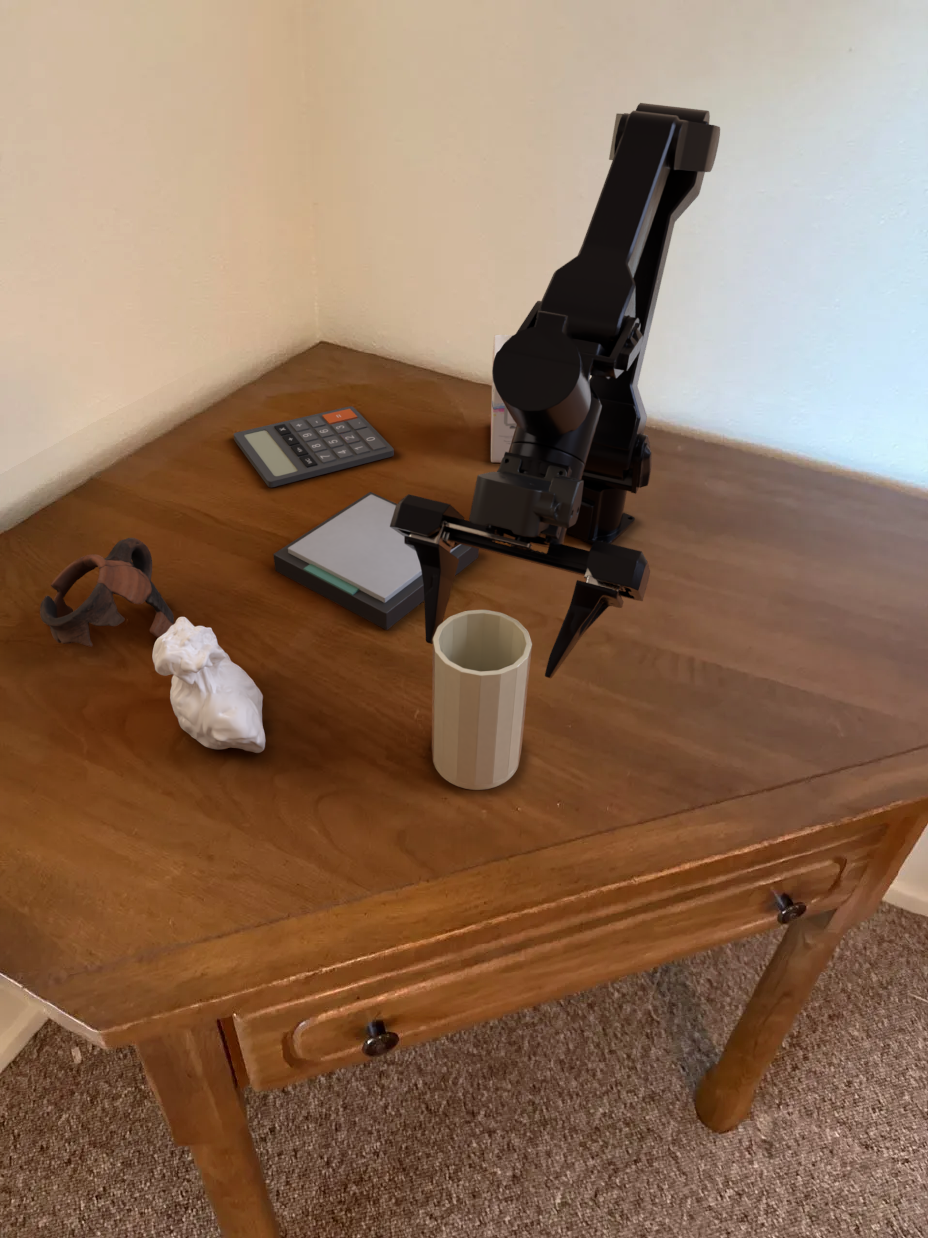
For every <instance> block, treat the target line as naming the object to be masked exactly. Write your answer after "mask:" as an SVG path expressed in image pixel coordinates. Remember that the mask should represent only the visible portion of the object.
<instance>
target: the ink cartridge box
mask: <svg viewBox="0 0 928 1238" xmlns="http://www.w3.org/2000/svg"><path fill="white" fill-rule="evenodd" d="M513 335H514V334H494V337H493V346H492V347H493V348H492V363H493V362H494V359H495V356H496V353H497V352H498V351H499V350H500V349H501V347H502V346H503V344H504V343H505V342H506V341H507V340H508V339H509V338H511V337H512V336H513ZM491 368H492V369H493V366H492V367H491ZM490 407H491V408H490V409H491V411H490V463H500V464H501V461H502V458H503V457H504V454H505V452H509V449H510V446H511V442H512V439H513V435H514V432H515V429H516V425H517V424H516V423H515V421H514V420H513V418H512V417H511V415H510V413H509V411H508V409H507V408H506V406H505V404H504V402H503V401H502V399H501V397H500V395H499V394H498V392H497V390H496V387H495V384H494V382H493V374H492V373H491V405H490Z"/></svg>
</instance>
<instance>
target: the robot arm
mask: <svg viewBox="0 0 928 1238" xmlns="http://www.w3.org/2000/svg"><path fill="white" fill-rule="evenodd" d="M710 117H711V115H710V111H709V110H704V109H697V108H687V107H679V106H672V105H663V104H653V103H646V102H640V103H638V104H637V106H636V108H635V110H632V111H631V112H629V113H627V112H623V113H615V119H614V126H613V132H612V138H611V145H610V149H609V157H608V160H609V161H611V164H610V166H609V169H608V172H607V175H606V178H605V179H604V183H603V186H602V188H601V191H600V194H599V197H598V199H597V202H596V206H595V208H594V212H593V214H592V216H591V220H590V222H589V225H588V228H587V230H586V232H585V236H584V238H583V240H582V241H583V242H582V244H581V246H580V249H579V252H578V253H577V255H576V256H575V257H573V258H572V259H570V260H569V261H568V262H566V263H564V264H563V265H561V266H560V267H558V268H557V269H556V270H555V271H554V272H553V274H552V276H551V278H550V280H549V283H548V285H547V287H546V290H545V292H544V293H543V296H542V299H541V300H537V301H536V302H535V304H533V306H532V307H531V309H530V311H529V312H528V314H527V316H526V317H525V319H524V320H523V321H522V323H521V325H520V326H519V328H518V329H517V330H516V333H514V334H512V335H513V336H512V337H511V338H509V339H508V340H507V341H506V342H505V343H504V344H503V346H502V347H501V349H500V350H499V351H498V352H497V353H496V356H495V359H494V362H493V361H492V367H493V369H492V371H491V375H492V374H493V382H494V384H495V387H496V390H497V392H498V394H499V395H500V397H501V399H502V401H503V402H504V404H505V406H506V408H507V409H508V411H509V413H510V415H511V417H512V418H513V420H514V421H515V423H516V424H517V425H516V429H515V432H514V435H513V439H512V442H511V446H510V449H509V452H505V454H504V457H503V458H502V461H501V463H500V465H499V468H498V469H497V470H496V471H490V472H484V473H480V474H477V476H476V481H475V486H474V492H473V496H472V503H471V508H470V511H469V512H470V513H469V517H468V520H467V519H465V516H464V515H462V514H461V513H460V512H459V511H458V510H457V509H456V508H455V507H454V506H453V505H451V504H450V503H447V502H442V501H439V500H435V499H431V498H427V497H421V496H417V495H414V494H409V493H408V494H407V495H406V496H404V497H403V498H401V499H400V500H399V501H398V502H397V503H396V504H397V505H396V507H395V510H394V514H393V517H392V520H391V524H390V527H391V528H392V529H394V530H395V531H397V532H398V533H400V534H401V535H402V536H404V544H406V545H407V546H409V547H410V548H412V549H413V550H415V551H416V553H417V556H418V559H419V562H420V566H421V572H422V578H423V585H424V601H423V603H424V604H423V605H424V624H425V625H424V628H425V633H424V634H425V642H426V643H427V644H430V645H433V637H434V635H435V632H436V630H437V627H438V626H439V625H440V624H441V623H443V622H444V619H445V615H446V610H447V607H448V603H449V600H450V596H451V592H452V588H453V584H454V581H455V577H456V576H455V574H456V570H457V566H458V562H459V559H458V558H456V557H455V556H454V555H453V554H451V553H450V552H451V550H452V549H453V548H455V547H457V546H458V545H460V544H462V545H466V546H470V547H474V548H477V549H479V550H481V551H485V552H489V553H494V554H497V555H501V556H505V557H509V558H512V559H517V560H520V561H523V562H524V561H525V562H529V563H533V564H535V565H539V566H543V567H548V568H552V569H555V570H559V571H564V572H567V573H571V574H574V575H578V576H579V575H580V576H583V578H584V580H585V581H583V580H578V579H577V580H576V582H575V586H574V589H573V593H572V597H571V599H570V600H571V601H570V604H569V607H568V609H567V611H566V614H565V616H564V619H563V622H562V624H561V627H560V629H559V631H558V634H557V637H556V639H555V642H554V644H553V646H552V649H551V652H550V654H549V657H548V660H547V664H546V667H545V672H544V677H545V678H548V679H552V678H553V677H554V676H555V674H556V673H557V671H558V670H559V669H560V668H561V666H562V664H564V662H565V660H566V659H567V657H568V656H569V655H570V653H571V652H572V651H573V650H574V648H575V647H576V645H577V643H578V642H579V641H580V639H581V638H582V637H583V635H584V634H585V633H586V632H587V631H588V630H589V628H590V627H591V626H592V625H593V624H595V622H596V621H597V620H598V619H599V618H600V617H601V615H602V614H603V613H604V612H605V611H606V610H607V609H608V608H609V607H612V608H613V607H614V608H617V609H618V608H619V609H622V608H623V606H624V599H623V598H626V599H629V600H633V601H639V602H643V601H644V598H645V594H646V591H647V587H648V584H649V581H650V575H651V569H650V565H649V563H648V559H646V557H645V554H644V553H643V552H642V550H638V549H633V548H629V547H626V546H621V545H617V544H613V543H614V542H615V541H616V540H618V538H620V537H621V536H622V535H623V534H624V533H625V532H626V531H627V530H628V529H629V528H630V527H632V526H633V525H634V524H635V521H636V517H635V516H633V515H631V514H627V513H625V512H624V510H625V506H626V505H625V504H626V498H627V493H628V492H630V493H631V494H635V495H636V494H637V493H638V491H639V489H641V488H644V487H648V485H649V483H650V479H651V472H652V465H653V464H652V463H653V462H652V451H651V445H650V438H649V435H647V434H645V429H646V424H647V420H648V414H647V411H646V408H645V404H644V402H643V399H642V396H641V393H640V390H639V381H640V376H641V372H642V368H643V362H644V359H645V354H646V351H647V345H648V340H649V336H650V333H651V328H652V323H653V319H654V315H655V310H656V305H657V301H658V298H659V294H660V288H661V284H662V279H663V275H664V271H665V267H666V262H667V258H668V254H669V249H670V245H671V240H672V237H673V232H674V229H675V228H674V227H675V224H676V222H677V221H678V219H680V217H681V216H682V215H683V214H684V213H685V212H686V210H688V208H689V207H690V206H691V204H693V203H694V201H695V200H697V198H698V197H699V196H700V193H701V189H702V185H703V183H704V182H703V181H704V177H705V175H706V173H711V172H712V171H713V168H714V164H715V161H716V157H717V153H718V149H719V143H720V137H721V127H720V126H719V125H715V124H710V120H711V119H710ZM566 534H567V535H568V536H571V537H574V538H576V539H578V540H581V541H583V542H585V543H587V544H590V545H591V547H590V549H589V550H587V549H583V548H579V547H575V546H571V545H567V544H564V543H565V536H566ZM533 545H534V546H538V547H542V548H545V549H547V552H544V551H540V550H534V549H533Z"/></svg>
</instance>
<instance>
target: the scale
mask: <svg viewBox="0 0 928 1238" xmlns="http://www.w3.org/2000/svg"><path fill="white" fill-rule="evenodd" d="M397 504H398V503H396V502H394V501H391V500H389V499H387V498H385V497H383V496H381V495H379V494H376V493H375V492H372V491H369V492H367V493H366V494H364V495H363V496H362V497H360V498H359V499H356V500H355V501H354V502H352V503H351V504H349V505H347V506H346V507H344V508H343V509H341V510H340V511H338V512H337V513H335V514H333V515H331V516H330V517H329V518H327V519H325V520H324V521H323V522H321V523H319V524H317V525H316V526H314V527H313V528H312V529H310V530H309V531H307V532H305V533H304V534H302V535H301V536H299V537H298V538H296V539H294V540H293V541H292V542H290V543H288V544H287V545H285V546H284V547H282V548H281V549H278V550H277V551H276V552H274V553H273V555H272V556H273V563H274V570H275V572H277V573H278V574H281V575H283V576H285V578H286V577H287V579H288V578H289V579H290V580H292V581H294V582H296V583H298V584H300V585H301V586H303V587H305V588H307V589H309V590H311V591H312V592H314V593H317V594H318V595H320V596H321V597H324V598H326V599H327V600H329V601H331V602H333V603H335V604H337V605H339V606H341V607H343V608H345V609H346V610H348V611H350V612H352V613H354V614H356V615H357V616H359V617H361V618H362V619H365V620H367V621H369V622H370V623H372V624H374V625H376V626H378V627H380V628H382V629H383V630H385V631H388V630H389V629H390V628H392V627H393V626H394V625H395V624H396V623H398V622H399V621H400V620H401V619H403V618H404V617H405V616H407V615H408V614H409V613H410V612H412V611H413V610H414V609H415V608H416V607H418V606H419V605H420V604H422V603H424V585H423V578H422V572H421V566H420V562H419V559H418V556H417V553H416V551H415V550H413V549H412V548H410V547H409V546H407V545H406V544H404V536H402V535H401V534H400V533H398V532H397V531H395V530H394V529H392V528H391V527H390V524H391V520H392V517H393V514H394V510H395V507H396V505H397ZM479 550H480V549H477V548H474V547H470V546H466V545H462V544H460V545H458V546H457V547H455V548H453V549H452V550H451V552H450V553H451V554H453V555H454V556H455V557H456V558H458V559H459V562H458V566H457V570H456V574H455V577H456V576H457V575H459V573H461V572H462V571H463V570H464V569H465V568H467V567H469V565H471V564H472V563H473V562H474V561H476V560H477V559H478V558H479Z"/></svg>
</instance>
